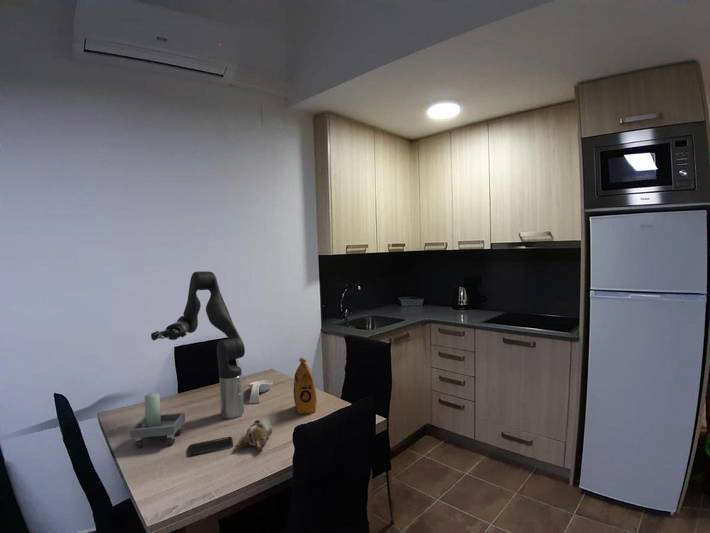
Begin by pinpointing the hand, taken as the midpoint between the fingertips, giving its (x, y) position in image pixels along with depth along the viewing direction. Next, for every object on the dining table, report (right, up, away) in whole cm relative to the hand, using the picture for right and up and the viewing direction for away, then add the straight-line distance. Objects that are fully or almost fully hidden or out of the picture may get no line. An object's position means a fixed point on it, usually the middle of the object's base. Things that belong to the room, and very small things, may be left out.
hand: (163, 337), depth 166 cm
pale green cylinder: (+9, -29, -25) cm, 40 cm away
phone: (+33, -34, -31) cm, 57 cm away
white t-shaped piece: (+38, -33, +20) cm, 54 cm away
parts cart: (+11, -34, -25) cm, 44 cm away
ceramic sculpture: (+50, -34, -29) cm, 67 cm away
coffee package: (+64, -32, 0) cm, 71 cm away
